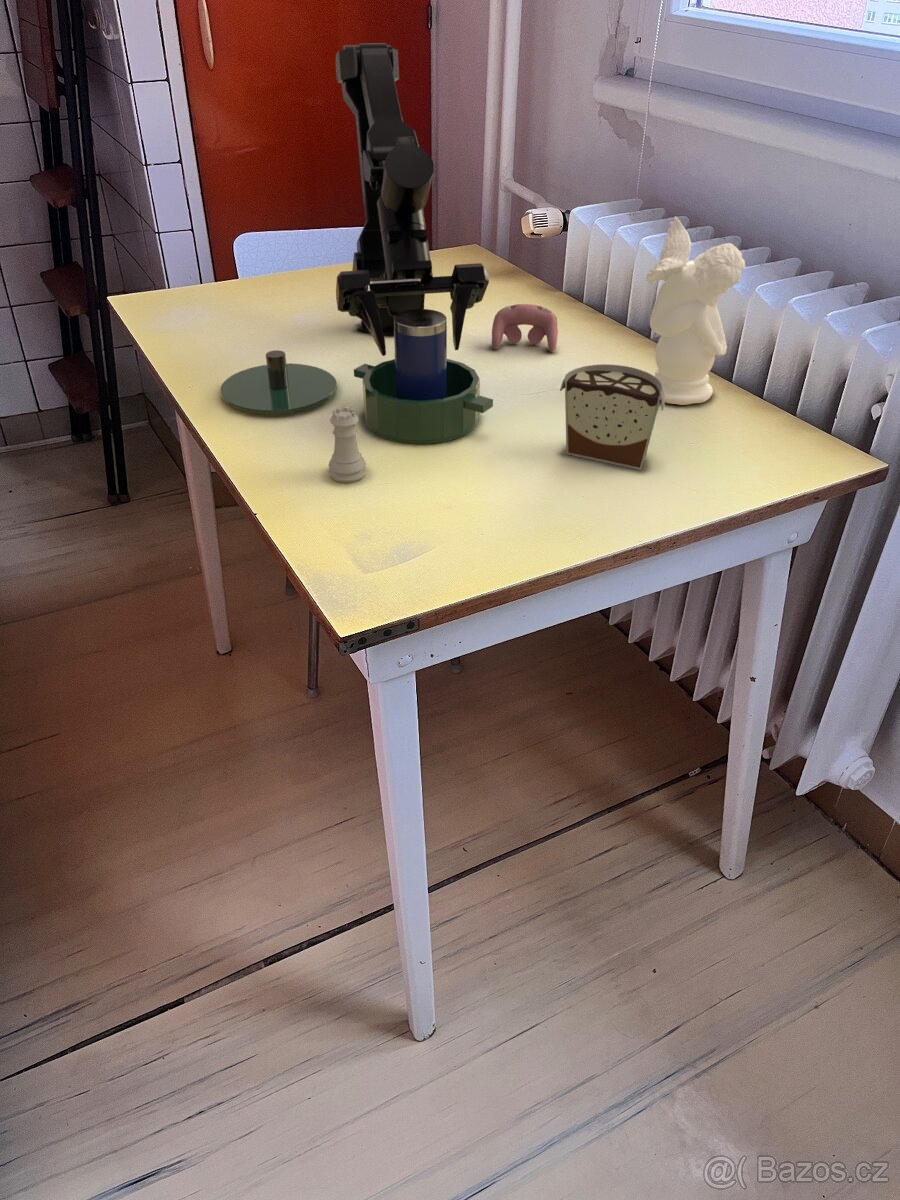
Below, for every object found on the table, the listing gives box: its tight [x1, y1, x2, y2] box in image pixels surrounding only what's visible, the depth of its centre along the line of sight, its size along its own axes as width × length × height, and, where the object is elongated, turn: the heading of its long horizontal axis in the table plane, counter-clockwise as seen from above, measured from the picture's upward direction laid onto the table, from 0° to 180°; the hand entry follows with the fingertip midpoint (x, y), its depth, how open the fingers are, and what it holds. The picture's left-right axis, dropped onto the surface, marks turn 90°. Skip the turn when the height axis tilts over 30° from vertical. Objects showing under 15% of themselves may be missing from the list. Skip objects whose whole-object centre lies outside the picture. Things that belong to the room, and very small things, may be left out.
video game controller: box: [491, 303, 559, 353], centre depth 141 cm, size 10×5×7 cm, turn 84°
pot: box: [353, 358, 494, 445], centre depth 120 cm, size 15×20×6 cm
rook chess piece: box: [328, 406, 368, 484], centre depth 107 cm, size 4×4×8 cm
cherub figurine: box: [645, 215, 746, 406], centre depth 121 cm, size 12×12×22 cm
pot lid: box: [220, 349, 338, 415], centre depth 126 cm, size 16×16×6 cm
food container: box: [559, 363, 666, 471], centre depth 111 cm, size 12×6×10 cm, turn 65°
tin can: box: [393, 308, 448, 401], centre depth 117 cm, size 6×6×13 cm
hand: (420, 351), depth 116 cm, fingers open, 9 cm apart
